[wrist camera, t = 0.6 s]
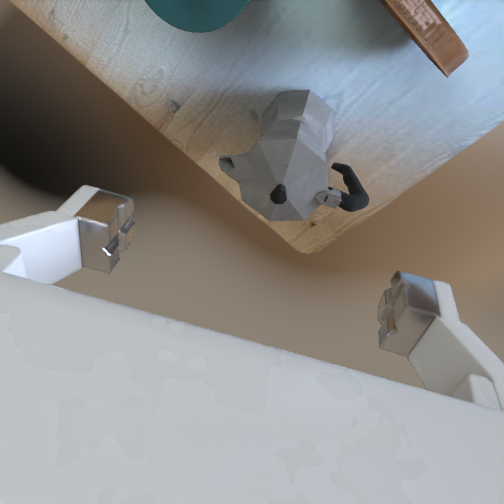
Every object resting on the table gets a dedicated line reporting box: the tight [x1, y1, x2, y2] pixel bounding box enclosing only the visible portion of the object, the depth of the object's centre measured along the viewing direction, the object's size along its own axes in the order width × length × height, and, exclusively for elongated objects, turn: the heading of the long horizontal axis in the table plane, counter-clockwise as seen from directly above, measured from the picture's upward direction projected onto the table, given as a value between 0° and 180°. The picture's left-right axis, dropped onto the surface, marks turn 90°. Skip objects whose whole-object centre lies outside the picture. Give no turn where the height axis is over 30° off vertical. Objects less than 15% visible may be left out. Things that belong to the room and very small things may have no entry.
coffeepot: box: [219, 90, 369, 221], centre depth 46 cm, size 15×9×18 cm, turn 76°
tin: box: [380, 0, 468, 77], centre depth 39 cm, size 15×3×8 cm, turn 49°
